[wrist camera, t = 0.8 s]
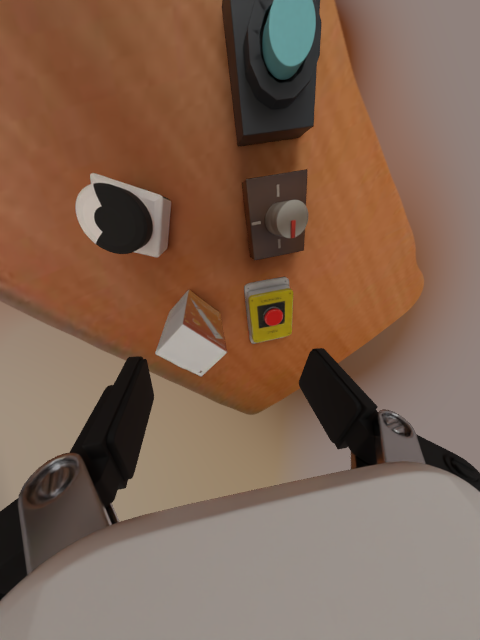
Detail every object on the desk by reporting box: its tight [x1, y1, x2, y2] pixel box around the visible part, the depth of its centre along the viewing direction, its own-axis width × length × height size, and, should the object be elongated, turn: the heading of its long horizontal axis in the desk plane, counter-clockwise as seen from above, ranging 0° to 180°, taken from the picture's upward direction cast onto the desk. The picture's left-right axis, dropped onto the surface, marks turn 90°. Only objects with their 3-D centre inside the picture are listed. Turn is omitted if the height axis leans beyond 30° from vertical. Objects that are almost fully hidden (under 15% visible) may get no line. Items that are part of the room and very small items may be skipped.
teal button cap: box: [262, 0, 316, 80], centre depth 16 cm, size 4×4×2 cm
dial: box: [265, 200, 308, 238], centre depth 25 cm, size 4×4×5 cm
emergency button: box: [244, 277, 293, 344], centre depth 37 cm, size 9×4×15 cm
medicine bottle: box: [75, 173, 171, 257], centre depth 22 cm, size 7×7×12 cm
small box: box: [155, 290, 227, 376], centre depth 30 cm, size 8×6×13 cm
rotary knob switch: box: [242, 169, 307, 260], centre depth 29 cm, size 11×9×3 cm
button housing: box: [222, 0, 321, 146], centre depth 20 cm, size 11×9×6 cm
